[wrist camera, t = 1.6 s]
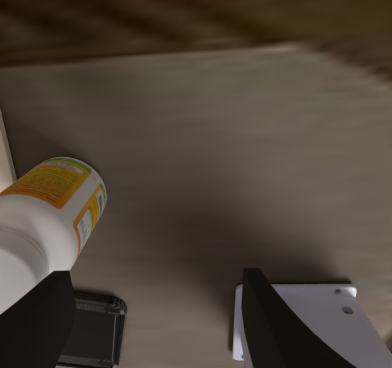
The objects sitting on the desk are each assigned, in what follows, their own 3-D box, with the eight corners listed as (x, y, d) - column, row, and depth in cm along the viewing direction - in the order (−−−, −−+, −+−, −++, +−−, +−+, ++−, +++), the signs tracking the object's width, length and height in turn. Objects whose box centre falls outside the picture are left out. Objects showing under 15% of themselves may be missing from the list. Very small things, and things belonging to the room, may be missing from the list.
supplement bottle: (14, 178, 22) (-106, 265, 13) (75, 140, 21) (-11, 205, 12) (64, 236, 24) (-13, 346, 15) (123, 203, 23) (78, 300, 14)
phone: (117, 373, 29) (-59, 350, 28) (120, 361, 30) (-50, 339, 29) (126, 304, 26) (-70, 276, 25) (129, 294, 27) (-60, 267, 26)
